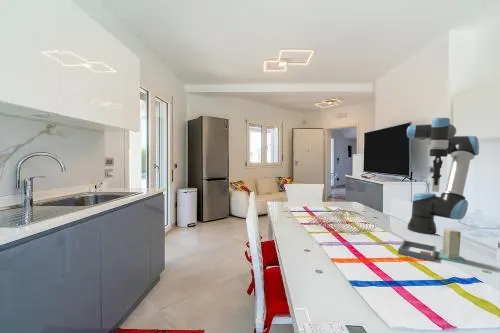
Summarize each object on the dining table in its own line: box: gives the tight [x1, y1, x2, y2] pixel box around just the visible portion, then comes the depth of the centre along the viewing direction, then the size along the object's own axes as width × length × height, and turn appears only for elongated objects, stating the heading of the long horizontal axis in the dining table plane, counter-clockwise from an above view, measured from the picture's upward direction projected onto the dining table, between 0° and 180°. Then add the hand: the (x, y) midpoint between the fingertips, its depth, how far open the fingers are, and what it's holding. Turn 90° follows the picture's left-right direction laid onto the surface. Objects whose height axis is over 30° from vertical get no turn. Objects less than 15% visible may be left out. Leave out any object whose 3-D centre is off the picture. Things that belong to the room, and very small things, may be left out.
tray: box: [397, 239, 437, 262], centre depth 129 cm, size 18×14×2 cm
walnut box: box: [419, 250, 432, 255], centre depth 123 cm, size 5×4×2 cm
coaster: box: [437, 251, 464, 264], centre depth 123 cm, size 9×9×1 cm
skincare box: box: [441, 227, 462, 259], centre depth 123 cm, size 6×4×12 cm
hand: (435, 190), depth 141 cm, fingers open, 13 cm apart
